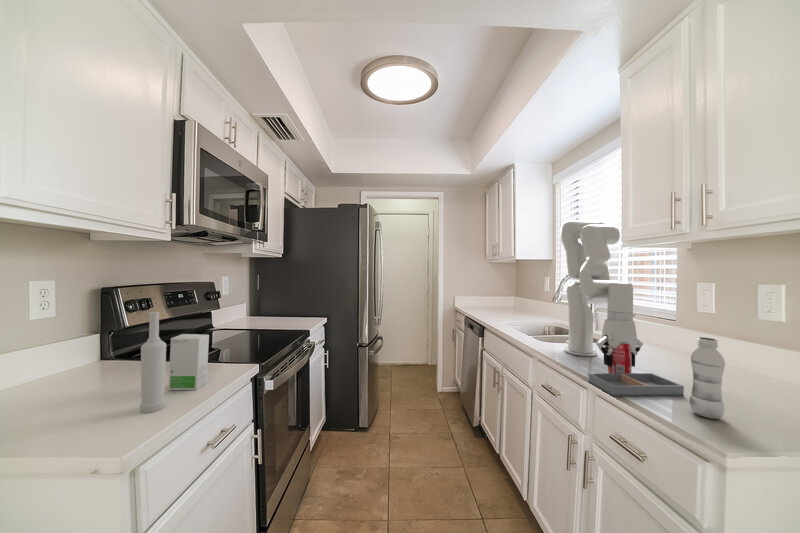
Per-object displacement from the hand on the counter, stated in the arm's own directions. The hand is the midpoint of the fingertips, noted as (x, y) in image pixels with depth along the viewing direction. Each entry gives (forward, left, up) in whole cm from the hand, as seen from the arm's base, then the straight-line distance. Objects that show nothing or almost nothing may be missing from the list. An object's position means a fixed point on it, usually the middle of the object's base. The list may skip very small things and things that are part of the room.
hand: (619, 365), depth 111 cm
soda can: (0, 0, -4) cm, 4 cm away
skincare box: (+8, -144, -4) cm, 144 cm away
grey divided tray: (+13, -5, -3) cm, 15 cm away
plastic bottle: (+31, -1, -4) cm, 31 cm away
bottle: (+23, -144, -4) cm, 146 cm away
